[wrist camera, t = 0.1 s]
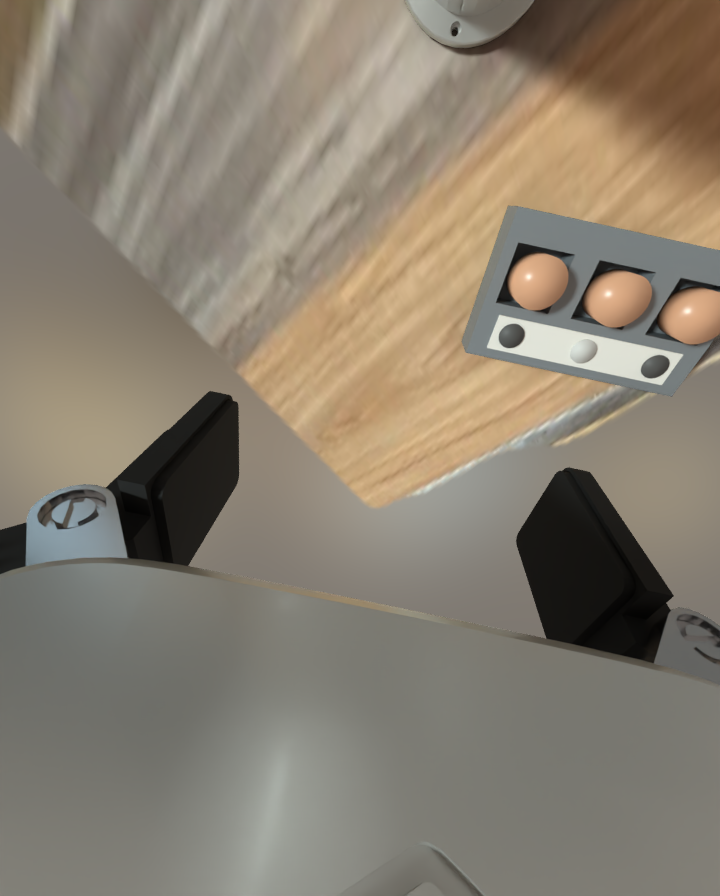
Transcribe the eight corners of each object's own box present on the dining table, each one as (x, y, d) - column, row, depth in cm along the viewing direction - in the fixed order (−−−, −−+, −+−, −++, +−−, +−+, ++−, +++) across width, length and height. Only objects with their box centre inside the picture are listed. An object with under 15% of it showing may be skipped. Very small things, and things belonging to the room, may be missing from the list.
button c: (676, 281, 36) (697, 287, 33) (724, 291, 36) (748, 298, 34) (646, 329, 39) (663, 338, 36) (690, 339, 39) (710, 349, 36)
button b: (597, 264, 36) (612, 269, 33) (645, 274, 36) (663, 280, 33) (573, 313, 39) (584, 321, 36) (617, 323, 39) (632, 332, 36)
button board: (508, 205, 37) (519, 206, 33) (739, 256, 37) (775, 262, 33) (461, 341, 45) (466, 353, 41) (652, 382, 45) (673, 398, 41)
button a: (518, 247, 36) (527, 250, 33) (566, 257, 36) (578, 261, 33) (499, 297, 39) (505, 304, 36) (543, 307, 39) (553, 315, 36)
